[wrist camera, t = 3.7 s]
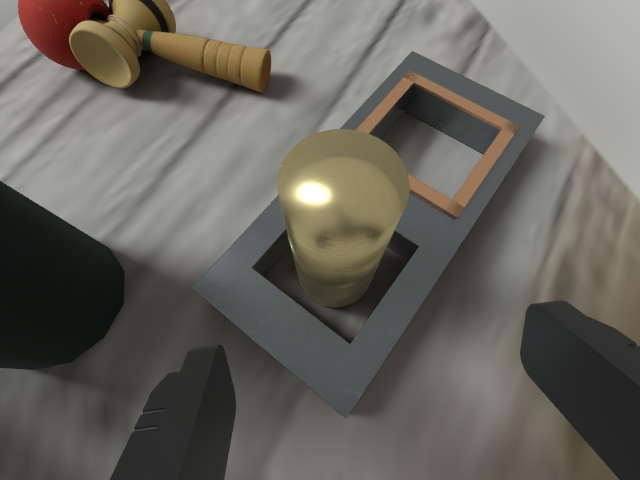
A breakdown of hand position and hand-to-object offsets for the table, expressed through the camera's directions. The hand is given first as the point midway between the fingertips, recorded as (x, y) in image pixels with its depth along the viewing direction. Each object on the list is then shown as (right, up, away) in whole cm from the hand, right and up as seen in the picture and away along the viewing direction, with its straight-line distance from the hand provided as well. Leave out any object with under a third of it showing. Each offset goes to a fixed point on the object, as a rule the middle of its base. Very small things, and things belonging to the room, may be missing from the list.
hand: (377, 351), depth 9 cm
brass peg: (-1, +1, +12) cm, 12 cm away
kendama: (-14, +17, +19) cm, 29 cm away
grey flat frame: (+2, +5, +13) cm, 14 cm away
